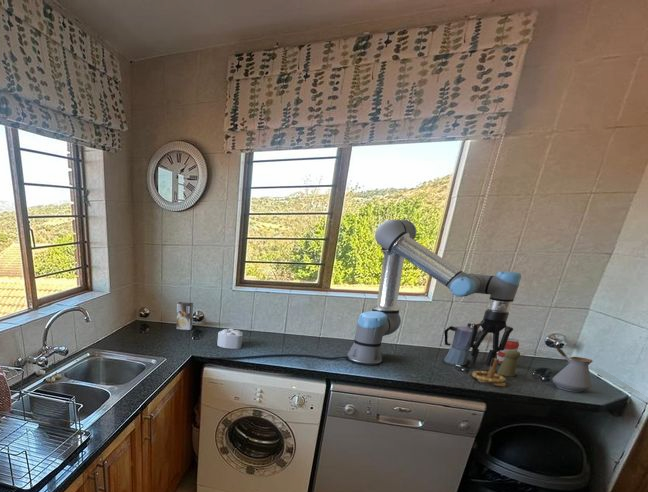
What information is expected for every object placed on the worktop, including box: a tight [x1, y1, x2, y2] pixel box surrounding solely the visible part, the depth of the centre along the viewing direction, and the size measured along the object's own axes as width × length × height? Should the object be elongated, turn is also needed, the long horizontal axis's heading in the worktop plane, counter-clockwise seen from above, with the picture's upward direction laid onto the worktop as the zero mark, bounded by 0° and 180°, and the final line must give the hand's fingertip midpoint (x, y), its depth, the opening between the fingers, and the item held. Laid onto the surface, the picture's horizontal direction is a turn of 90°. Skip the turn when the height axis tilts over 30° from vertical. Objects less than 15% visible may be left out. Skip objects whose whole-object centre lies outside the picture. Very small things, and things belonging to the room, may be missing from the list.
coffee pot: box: [549, 343, 593, 393], centre depth 168 cm, size 21×12×15 cm, turn 171°
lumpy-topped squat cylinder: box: [216, 328, 244, 350], centre depth 217 cm, size 10×13×9 cm
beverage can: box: [495, 337, 520, 365], centre depth 192 cm, size 6×6×12 cm
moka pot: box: [443, 323, 482, 366], centre depth 190 cm, size 10×15×20 cm, turn 78°
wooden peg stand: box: [477, 357, 507, 387], centre depth 171 cm, size 9×9×10 cm
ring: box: [470, 370, 506, 384], centre depth 173 cm, size 11×11×2 cm
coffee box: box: [176, 301, 194, 331], centre depth 249 cm, size 9×6×16 cm
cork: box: [496, 350, 521, 377], centre depth 179 cm, size 6×6×11 cm
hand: (479, 364), depth 172 cm, fingers open, 4 cm apart
